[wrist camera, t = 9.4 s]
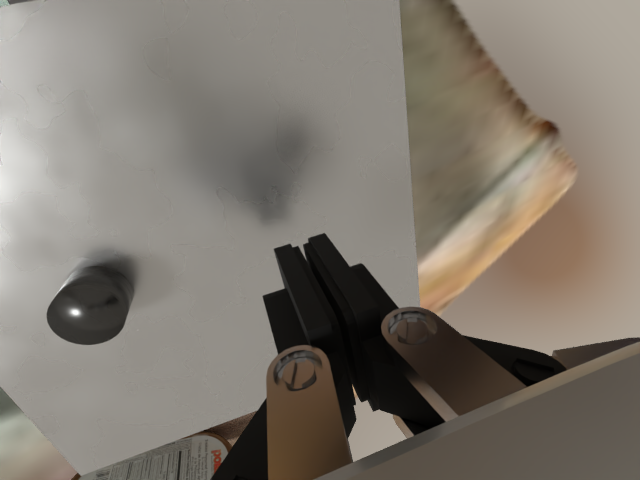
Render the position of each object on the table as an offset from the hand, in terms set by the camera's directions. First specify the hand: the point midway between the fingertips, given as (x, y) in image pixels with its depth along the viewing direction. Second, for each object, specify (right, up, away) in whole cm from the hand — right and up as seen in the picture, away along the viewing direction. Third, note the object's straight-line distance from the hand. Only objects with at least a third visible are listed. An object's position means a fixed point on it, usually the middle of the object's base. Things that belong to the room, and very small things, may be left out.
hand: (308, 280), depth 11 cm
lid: (-5, +1, +4) cm, 6 cm away
